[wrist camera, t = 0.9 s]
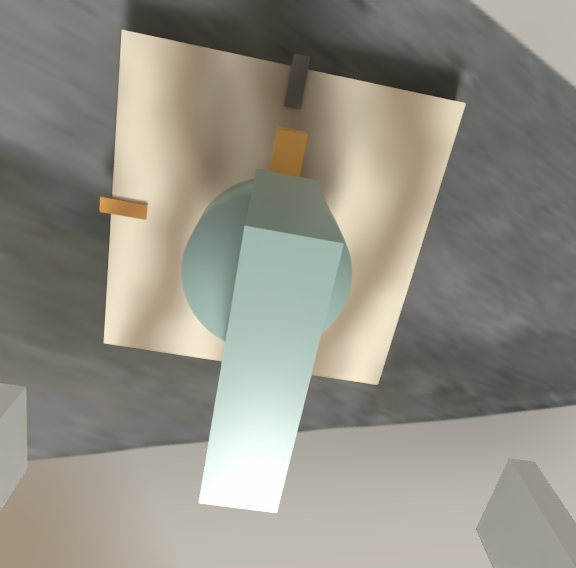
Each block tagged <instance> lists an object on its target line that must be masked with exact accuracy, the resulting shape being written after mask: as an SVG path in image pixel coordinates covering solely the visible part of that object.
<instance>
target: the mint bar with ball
mask: <svg viewBox="0 0 576 568" xmlns="http://www.w3.org/2000/svg"><path fill="white" fill-rule="evenodd" d="M307 137H308V134H307V133H306V132H304V131H299V130H294V129H289V128H284V127H279V126H277V130H276V136H275V142H274V147H273V153H272V158H271V164H270V170H269V171H267V170H261V169H256V173H255V178H254V179H252V180H248V181H244V182H241V183H239V184H236V185H234V186H232V187H230V188H228V189H227V190H225V191H223V192H222V193H221V194H220V195H218V196H217V197H216V198H215V199H214V200H213V201H212V202H211V203H210V204H209V205H208V207H207V208H206V209H205V211H204V212H203V214H202V216H201V218H200V219H199V221H198V223H197V225H196V227H195V229H194V230H193V232H192V234H191V236H190V238H189V240H188V242H187V245H186V247H185V250H184V254H183V259H182V266H181V277H182V286H183V290H184V294H185V297H186V299H187V302H188V304H189V306H190V308H191V310H192V311H193V313H194V315H195V316H196V317H197V319H198V320H199V321H200V322H201V323H202V324H203V325H204V326H205V328H206V329H208V330H209V331H210V332H211V333H213V334H214V335H215V336H217V337H218V338H220V339H221V340H223V341H225V347H224V353H223V359H222V365H221V371H220V377H219V383H218V389H217V395H216V401H215V407H214V413H213V419H212V425H211V431H210V437H209V444H208V450H207V456H206V462H205V468H204V474H203V480H202V486H201V492H200V498H199V503H201V504H209V505H218V506H225V507H233V508H241V509H249V510H257V511H266V512H275V513H277V510H278V506H279V502H280V498H281V494H282V490H283V486H284V482H285V478H286V474H287V470H288V465H289V462H290V458H291V454H292V450H293V446H294V442H295V438H296V434H297V430H298V426H299V422H300V418H301V414H302V410H303V406H304V402H305V398H306V394H307V390H308V386H309V382H310V378H311V374H312V370H313V366H314V362H315V358H316V354H317V350H318V346H319V342H320V338H321V334H322V333H323V332H324V331H325V330H327V329H328V328H329V327H330V326H331V325H332V324H333V322H334V321H335V320H336V319H337V317H338V316H339V314H340V313H341V312H342V310H343V308H344V306H345V304H346V302H347V299H348V296H349V293H350V289H351V283H352V263H351V257H350V253H349V250H348V247H347V245H346V242H345V240H344V237H343V235H342V233H341V231H340V228H339V226H338V224H337V221H336V219H335V218H334V216H333V214H332V212H331V211H330V209H329V207H328V205H327V202H326V200H325V198H324V195H323V193H322V190H321V188H320V186H319V183H318V181H317V180H313V179H308V178H303V177H300V172H301V167H302V162H303V157H304V152H305V147H306V142H307Z"/></svg>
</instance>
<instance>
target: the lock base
mask: <svg viewBox="0 0 576 568" xmlns="http://www.w3.org/2000/svg"><path fill="white" fill-rule="evenodd" d="M310 58H311V57H310V56H305V55H301V54H296V53H294V56H293V61H292V66H289V65H285V64H280V63H275V62H271V61H266V60H261V59H257V58H252V57H247V56H243V55H238V54H233V53H229V52H224V51H219V50H215V49H210V48H205V47H201V46H196V45H191V44H187V43H182V42H177V41H173V40H168V39H163V38H159V37H154V36H149V35H145V34H140V33H135V32H131V31H126V30H122V36H121V53H120V70H119V88H118V105H117V123H116V140H115V157H114V175H113V192H112V198H108V197H103V196H101V197H100V212H104V213H110V214H111V227H110V244H109V262H108V279H107V297H106V314H105V331H104V343H106V344H113V345H120V346H126V347H133V348H139V349H146V350H152V351H159V352H165V353H172V354H179V355H185V356H192V357H198V358H205V359H211V360H218V361H222V359H223V353H224V347H225V341H223V340H221V339H220V338H218V337H217V336H215V335H214V334H213V333H211V332H210V331H209V330H208V329H206V328H205V326H204V325H203V324H202V323H201V322H200V321H199V320H198V319H197V317H196V316H195V315H194V313H193V311H192V310H191V308H190V306H189V304H188V302H187V299H186V297H185V294H184V290H183V286H182V277H181V266H182V259H183V254H184V250H185V247H186V245H187V242H188V240H189V238H190V236H191V234H192V232H193V230H194V229H195V227H196V225H197V223H198V221H199V219H200V218H201V216H202V214H203V212H204V211H205V209H206V208H207V207H208V205H209V204H210V203H211V202H212V201H213V200H214V199H215V198H216V197H217V196H218V195H220V194H221V193H222V192H223V191H225V190H227V189H228V188H230V187H232V186H234V185H236V184H239V183H241V182H244V181H248V180H252V179H254V178H255V173H256V169H261V170H267V171H269V170H270V164H271V158H272V153H273V147H274V142H275V136H276V130H277V126H279V127H284V128H289V129H294V130H299V131H304V132H306V133H307V134H308V137H307V142H306V147H305V152H304V157H303V162H302V167H301V172H300V177H303V178H308V179H313V180H317V181H318V183H319V186H320V188H321V190H322V193H323V195H324V198H325V200H326V202H327V205H328V207H329V209H330V211H331V212H332V214H333V216H334V218H335V219H336V221H337V224H338V226H339V228H340V231H341V233H342V235H343V237H344V240H345V242H346V245H347V247H348V250H349V253H350V257H351V263H352V283H351V289H350V293H349V296H348V299H347V302H346V304H345V306H344V308H343V310H342V312H341V313H340V314H339V316H338V317H337V319H336V320H335V321H334V322H333V324H332V325H331V326H330V327H329V328H328V329H327V330H325V331H324V332H323V333H322V334H321V338H320V342H319V346H318V350H317V354H316V358H315V362H314V366H313V370H312V374H311V375H316V376H323V377H329V378H336V379H342V380H349V381H356V382H362V383H369V384H375V385H378V382H379V379H380V376H381V373H382V370H383V366H384V363H385V360H386V357H387V354H388V350H389V347H390V344H391V341H392V338H393V334H394V331H395V328H396V325H397V322H398V318H399V315H400V312H401V309H402V306H403V303H404V299H405V296H406V293H407V290H408V287H409V283H410V280H411V277H412V274H413V271H414V267H415V264H416V261H417V258H418V255H419V251H420V248H421V245H422V242H423V239H424V235H425V232H426V229H427V226H428V223H429V220H430V216H431V213H432V210H433V207H434V204H435V200H436V197H437V194H438V191H439V188H440V184H441V181H442V178H443V175H444V172H445V168H446V165H447V162H448V159H449V156H450V152H451V149H452V146H453V143H454V140H455V137H456V133H457V130H458V127H459V124H460V121H461V117H462V114H463V111H464V108H465V105H466V103H462V102H458V101H453V100H448V99H444V98H439V97H434V96H430V95H425V94H420V93H416V92H411V91H406V90H401V89H397V88H392V87H387V86H383V85H378V84H373V83H369V82H364V81H359V80H355V79H350V78H345V77H341V76H336V75H331V74H327V73H322V72H317V71H313V70H308V68H309V63H310Z"/></svg>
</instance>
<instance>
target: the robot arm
mask: <svg viewBox="0 0 576 568" xmlns="http://www.w3.org/2000/svg"><path fill="white" fill-rule="evenodd" d="M26 470H27V410H26V387H23V386H16V385H10V384H3V383H0V510H1V509H2V507H3V506H4V504H5V503H6V501H7V500H8V498H9V497H10V495H11V494H12V492H13V490H14V489H15V487H16V486H17V484H18V483H19V481H20V480H21V478H22V476H23V475H24V473H25V472H26ZM476 530H477V532H478V535H479V537H480V539H481V542H482V544H483V546H484V548H485V551H486V553H487V555H488V558H489V560H490V562H491V564H492V567H493V568H576V523H575V521H574V520H573V518H572V517H571V516H570V514H569V512H568V511H567V509H566V508H565V507H564V505H563V504H562V502H561V501H560V499H559V497H558V496H557V494H556V493H555V492H554V490H553V489H552V487H551V486H550V484H549V483H548V481H547V480H546V478H545V477H544V475H543V474H542V472H541V471H540V469H539V468H538V466H537V465H536V463H535V462H531V461H523V460H517V459H509V460H508V462H507V464H506V466H505V468H504V471H503V473H502V475H501V477H500V479H499V481H498V484H497V486H496V488H495V490H494V492H493V494H492V496H491V498H490V501H489V503H488V505H487V507H486V509H485V511H484V513H483V515H482V517H481V520H480V522H479V524H478V526H477V528H476Z"/></svg>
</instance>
